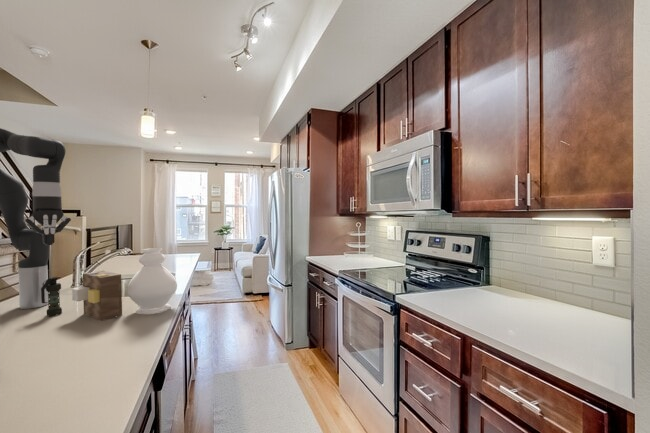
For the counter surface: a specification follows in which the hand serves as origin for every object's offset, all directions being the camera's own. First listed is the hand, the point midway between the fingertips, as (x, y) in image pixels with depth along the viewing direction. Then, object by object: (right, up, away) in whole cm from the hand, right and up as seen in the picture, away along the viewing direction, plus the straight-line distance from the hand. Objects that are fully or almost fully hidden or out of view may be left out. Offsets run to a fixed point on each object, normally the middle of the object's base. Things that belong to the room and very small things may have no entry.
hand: (48, 244), depth 109 cm
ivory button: (+4, -22, +11) cm, 25 cm away
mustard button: (+12, -22, +9) cm, 26 cm away
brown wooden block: (+10, -29, +13) cm, 33 cm away
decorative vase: (+26, -29, +19) cm, 43 cm away
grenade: (-11, -29, +13) cm, 34 cm away
